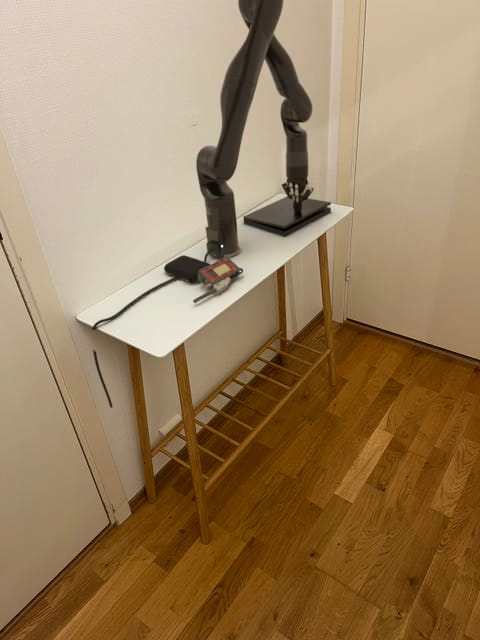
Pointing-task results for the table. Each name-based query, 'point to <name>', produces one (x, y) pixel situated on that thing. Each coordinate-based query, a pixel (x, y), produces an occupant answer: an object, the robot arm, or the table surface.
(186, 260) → the carrying case
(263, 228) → the laptop
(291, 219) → the laptop screen
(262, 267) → the table surface
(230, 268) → the grey red handheld meter
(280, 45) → the robot arm
